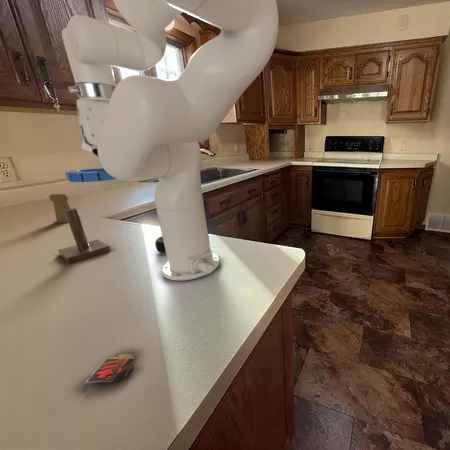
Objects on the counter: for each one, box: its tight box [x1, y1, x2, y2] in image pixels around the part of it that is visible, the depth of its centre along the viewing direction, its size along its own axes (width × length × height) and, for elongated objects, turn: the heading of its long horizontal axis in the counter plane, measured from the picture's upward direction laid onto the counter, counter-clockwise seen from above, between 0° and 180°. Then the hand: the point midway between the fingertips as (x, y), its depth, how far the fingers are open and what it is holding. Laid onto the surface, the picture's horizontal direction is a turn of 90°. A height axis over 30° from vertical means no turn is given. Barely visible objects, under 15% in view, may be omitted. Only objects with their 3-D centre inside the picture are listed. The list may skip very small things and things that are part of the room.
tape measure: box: [154, 235, 166, 254], centre depth 68 cm, size 7×7×4 cm
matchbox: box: [83, 352, 136, 387], centre depth 33 cm, size 5×5×1 cm
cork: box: [49, 192, 73, 224], centre depth 96 cm, size 6×6×11 cm
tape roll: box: [64, 167, 117, 183], centre depth 59 cm, size 11×11×2 cm
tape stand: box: [57, 208, 111, 264], centre depth 66 cm, size 9×9×12 cm
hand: (119, 174), depth 63 cm, fingers closed on tape roll, 2 cm apart
